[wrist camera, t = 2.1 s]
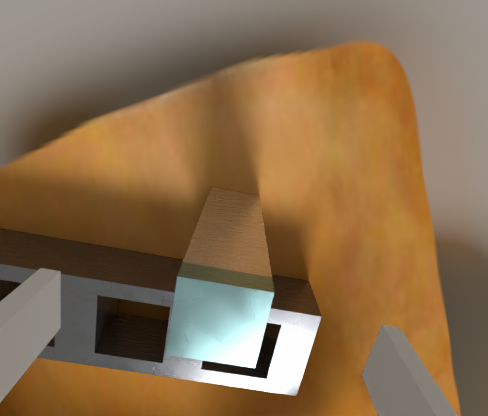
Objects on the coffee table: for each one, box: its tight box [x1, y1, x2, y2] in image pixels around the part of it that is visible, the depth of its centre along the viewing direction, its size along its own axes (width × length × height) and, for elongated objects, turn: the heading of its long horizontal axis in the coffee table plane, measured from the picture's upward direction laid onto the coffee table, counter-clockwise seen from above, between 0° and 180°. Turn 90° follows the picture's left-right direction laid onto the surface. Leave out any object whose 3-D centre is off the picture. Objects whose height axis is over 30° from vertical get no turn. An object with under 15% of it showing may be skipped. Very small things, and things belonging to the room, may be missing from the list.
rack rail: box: [0, 229, 322, 396], centre depth 27 cm, size 8×28×5 cm, turn 79°
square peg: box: [166, 187, 274, 368], centre depth 20 cm, size 4×4×14 cm
